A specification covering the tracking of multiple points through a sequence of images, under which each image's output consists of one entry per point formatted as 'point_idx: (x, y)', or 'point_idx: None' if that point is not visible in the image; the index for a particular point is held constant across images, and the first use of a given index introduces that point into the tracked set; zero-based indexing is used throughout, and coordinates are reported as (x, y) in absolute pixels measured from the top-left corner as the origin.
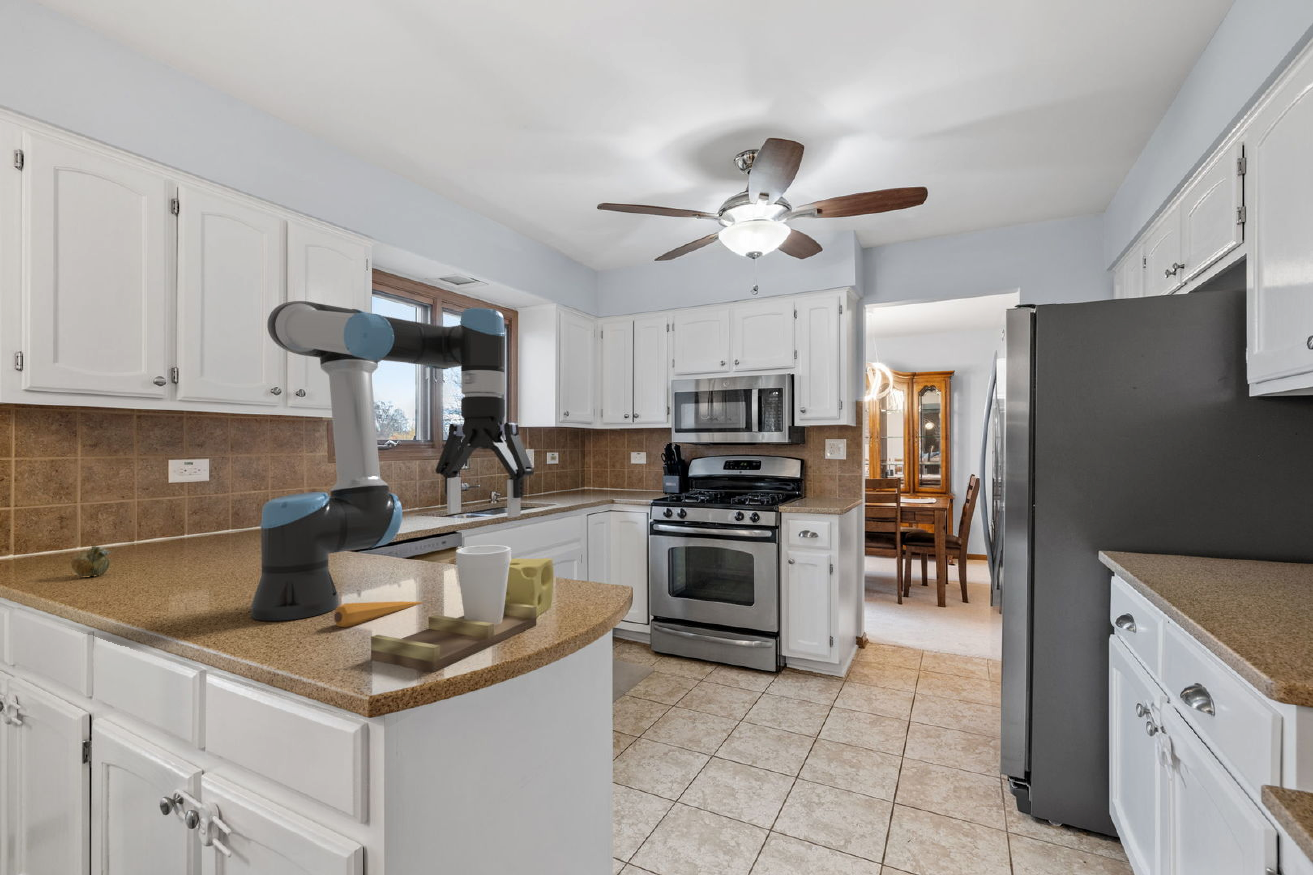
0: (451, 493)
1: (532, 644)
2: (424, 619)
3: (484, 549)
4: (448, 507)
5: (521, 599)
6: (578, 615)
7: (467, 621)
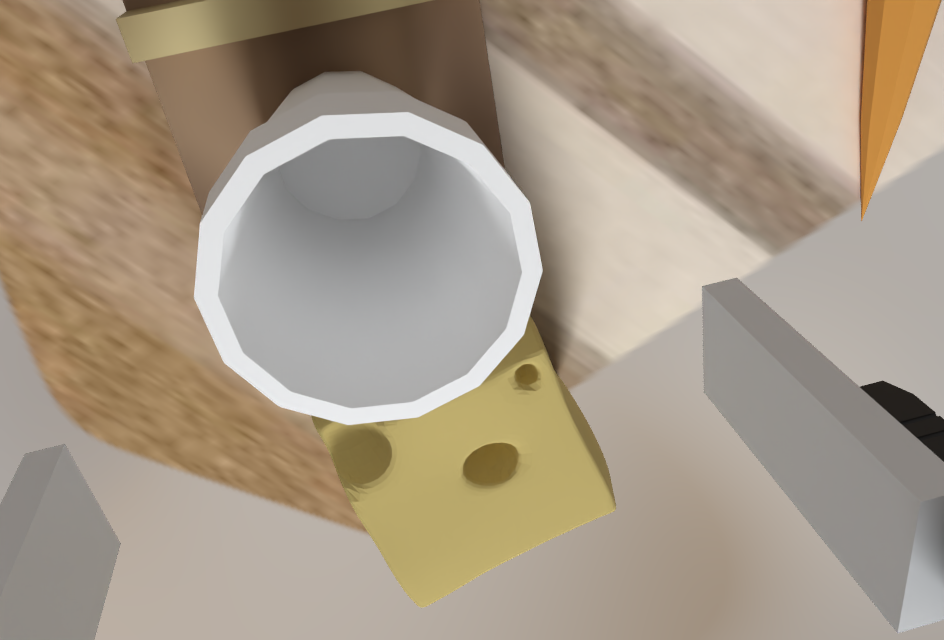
0: (802, 398)
1: (30, 145)
2: (680, 85)
3: (476, 342)
4: (750, 306)
5: None
6: (224, 460)
7: (260, 8)
